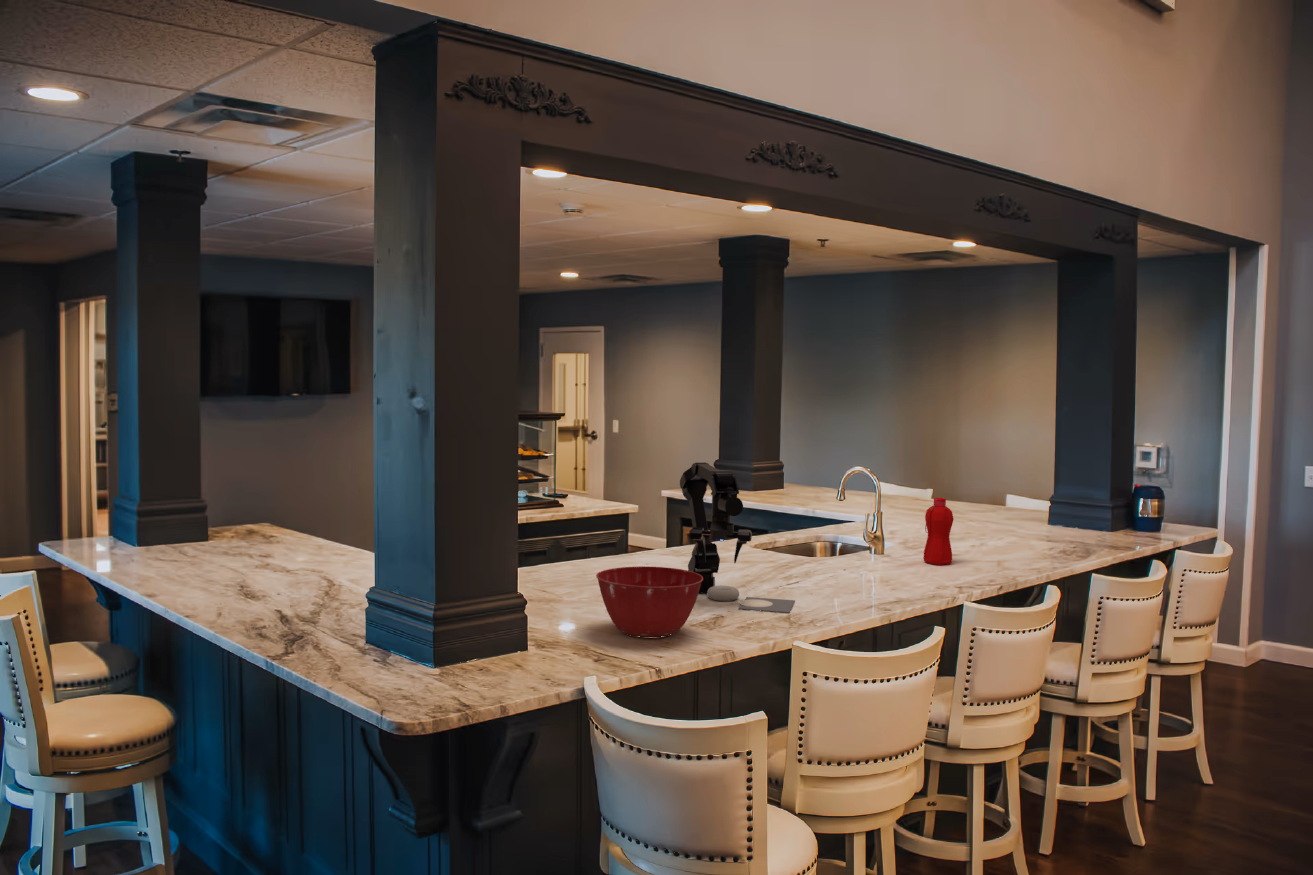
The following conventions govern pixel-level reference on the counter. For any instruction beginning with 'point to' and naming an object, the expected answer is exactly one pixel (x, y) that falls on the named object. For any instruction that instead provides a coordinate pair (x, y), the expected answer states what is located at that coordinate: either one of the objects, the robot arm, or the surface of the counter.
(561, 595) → the counter surface
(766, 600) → the kitchen scale
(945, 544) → the water bottle
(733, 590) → the donut
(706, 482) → the robot arm
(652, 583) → the mixing bowl
